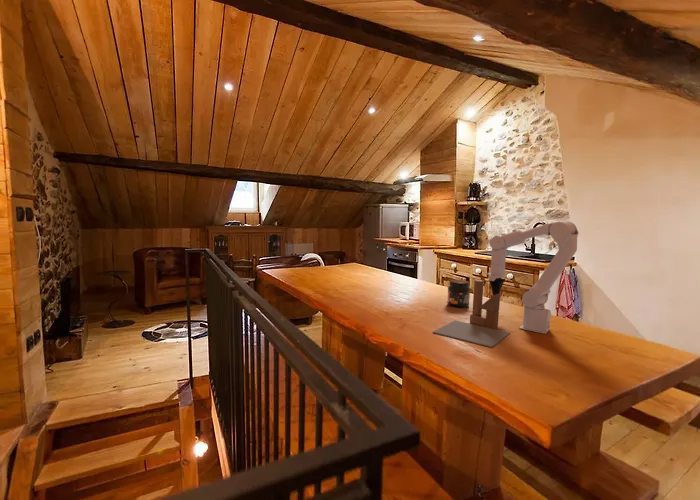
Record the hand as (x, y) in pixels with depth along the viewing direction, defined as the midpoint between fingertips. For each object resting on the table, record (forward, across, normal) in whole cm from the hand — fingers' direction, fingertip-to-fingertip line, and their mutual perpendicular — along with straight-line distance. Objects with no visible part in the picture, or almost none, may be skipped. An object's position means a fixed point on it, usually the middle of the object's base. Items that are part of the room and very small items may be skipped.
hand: (495, 295), depth 158 cm
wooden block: (+11, +13, 0) cm, 17 cm away
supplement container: (+11, -11, -21) cm, 26 cm away
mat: (+10, +26, 0) cm, 28 cm away
